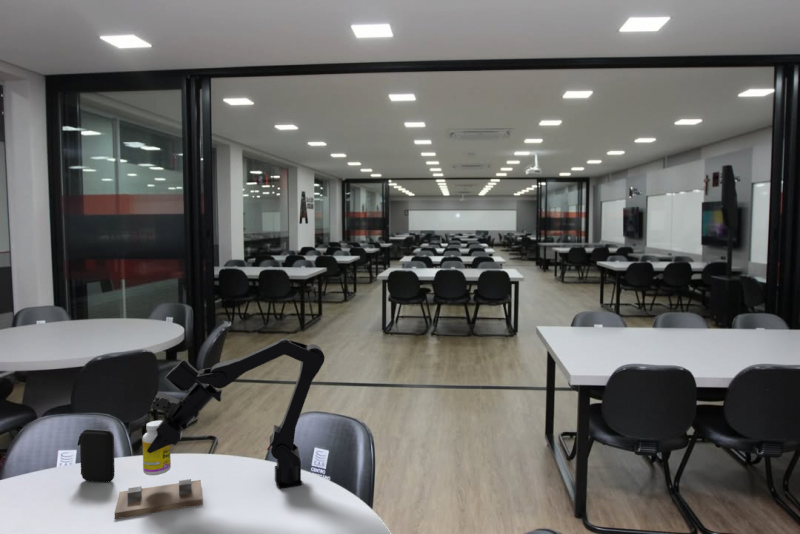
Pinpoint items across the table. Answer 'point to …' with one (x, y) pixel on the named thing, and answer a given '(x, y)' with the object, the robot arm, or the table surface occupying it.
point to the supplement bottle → (155, 453)
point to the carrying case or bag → (97, 455)
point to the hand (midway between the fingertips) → (151, 447)
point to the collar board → (158, 498)
